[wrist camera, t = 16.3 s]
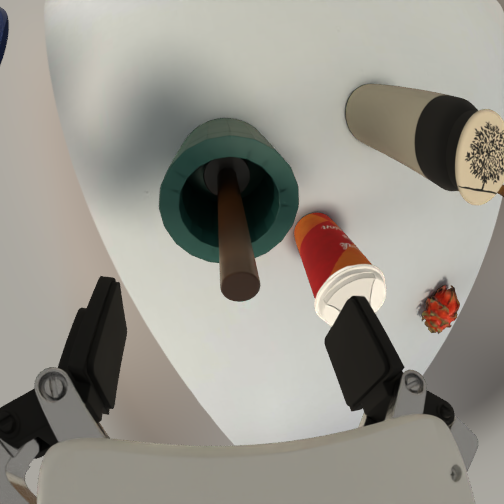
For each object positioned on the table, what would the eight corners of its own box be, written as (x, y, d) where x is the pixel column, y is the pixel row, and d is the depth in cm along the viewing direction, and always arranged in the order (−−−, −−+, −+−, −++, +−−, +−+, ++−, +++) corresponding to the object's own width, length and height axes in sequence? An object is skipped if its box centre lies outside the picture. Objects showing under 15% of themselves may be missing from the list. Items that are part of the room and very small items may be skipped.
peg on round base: (202, 180, 29) (188, 317, 13) (208, 142, 27) (195, 240, 11) (241, 185, 30) (274, 322, 14) (249, 148, 28) (301, 252, 12)
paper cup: (347, 238, 37) (394, 308, 26) (299, 263, 39) (331, 341, 27) (329, 193, 33) (384, 257, 21) (275, 221, 34) (306, 299, 23)
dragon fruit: (414, 315, 54) (432, 270, 49) (444, 324, 50) (464, 279, 45) (414, 337, 47) (436, 288, 42) (447, 346, 43) (472, 299, 38)
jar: (175, 198, 31) (156, 256, 21) (186, 112, 26) (166, 127, 16) (259, 208, 33) (279, 269, 23) (279, 127, 28) (315, 152, 18)
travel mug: (351, 74, 25) (472, 87, 10) (404, 96, 26) (519, 131, 11) (338, 136, 29) (442, 198, 14) (390, 151, 30) (493, 216, 16)
